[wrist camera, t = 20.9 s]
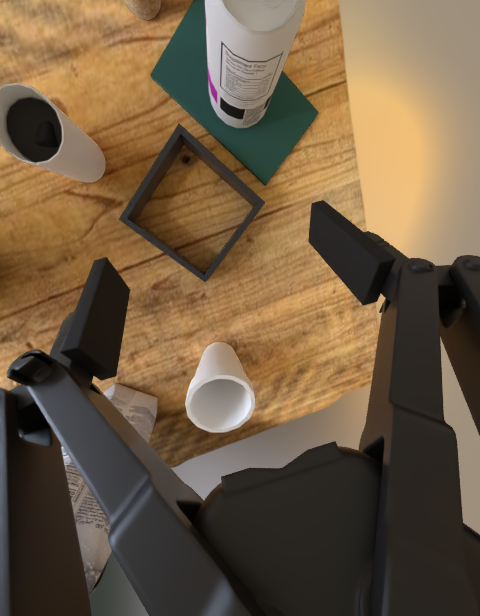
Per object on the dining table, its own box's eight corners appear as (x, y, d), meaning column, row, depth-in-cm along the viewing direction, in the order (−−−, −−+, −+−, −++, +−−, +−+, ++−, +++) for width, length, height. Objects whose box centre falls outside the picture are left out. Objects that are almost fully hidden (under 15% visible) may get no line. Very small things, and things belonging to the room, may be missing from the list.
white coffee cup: (104, 133, 31) (55, 85, 21) (112, 187, 33) (70, 165, 23) (52, 130, 30) (-24, 79, 20) (63, 185, 32) (-1, 163, 22)
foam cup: (184, 364, 42) (172, 416, 30) (210, 325, 40) (208, 363, 28) (227, 385, 45) (232, 441, 32) (253, 349, 43) (268, 393, 30)
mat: (151, 77, 29) (150, 74, 29) (204, -15, 27) (204, -20, 27) (265, 185, 35) (266, 184, 34) (317, 114, 33) (319, 112, 32)
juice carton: (111, 376, 41) (-59, 599, 16) (165, 395, 44) (94, 616, 18) (95, 412, 43) (-81, 666, 17) (148, 428, 46) (61, 672, 20)
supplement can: (196, 91, 30) (178, -45, 16) (240, 40, 29) (266, -156, 15) (237, 144, 32) (255, 68, 18) (280, 99, 31) (335, -21, 17)
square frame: (128, 221, 34) (118, 219, 31) (182, 135, 32) (178, 123, 28) (206, 278, 38) (205, 282, 35) (260, 205, 35) (265, 202, 32)
